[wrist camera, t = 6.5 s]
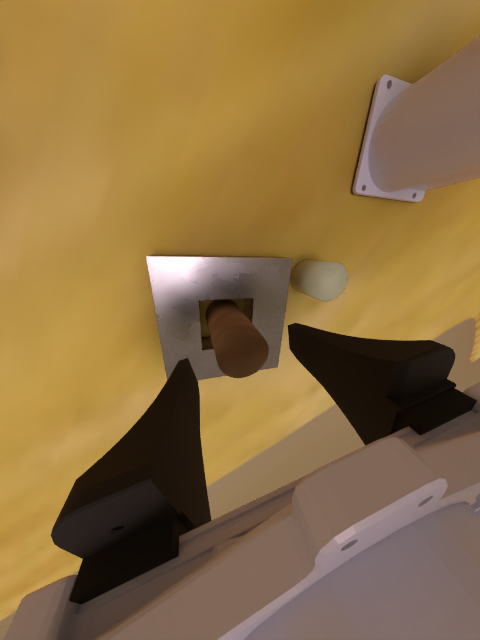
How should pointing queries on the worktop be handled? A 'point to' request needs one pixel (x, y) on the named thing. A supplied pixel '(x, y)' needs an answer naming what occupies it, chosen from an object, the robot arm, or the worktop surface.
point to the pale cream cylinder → (319, 279)
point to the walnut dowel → (235, 340)
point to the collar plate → (214, 284)
